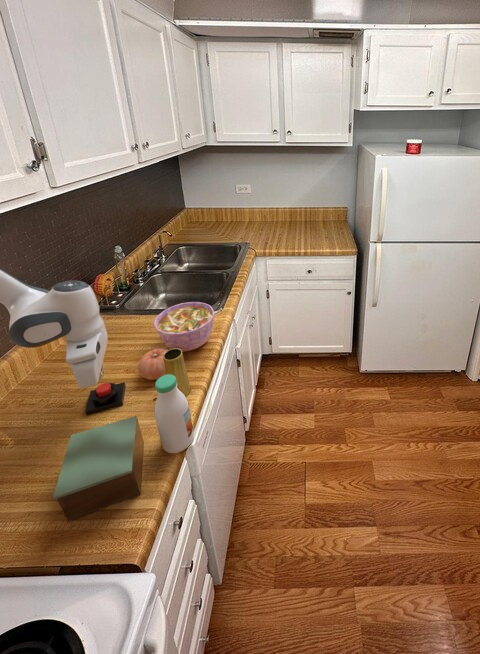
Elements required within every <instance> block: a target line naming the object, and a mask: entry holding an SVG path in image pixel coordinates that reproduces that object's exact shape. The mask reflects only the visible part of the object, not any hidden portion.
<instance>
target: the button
mask: <svg viewBox="0 0 480 654" xmlns="http://www.w3.org/2000/svg"><path fill="white" fill-rule="evenodd" d="M109 383H110V382H104V383H101V384H99V385H98V386H97V387H96V388H97V389H96V388H95V389H96V392H97V395H98V396H99V397H103V396H106V395H108V394H109V393H110V392H111V391H112V389H111V385H110V384H109Z"/></svg>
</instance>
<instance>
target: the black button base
mask: <svg viewBox="0 0 480 654" xmlns="http://www.w3.org/2000/svg"><path fill="white" fill-rule="evenodd" d="M108 383H109V384H110V385H111V389H112V391H111V392H110V393H109V394H108V395H106V396H103V397H99V396H98V395H97V392H96V389H97V387H96V388H95V389H92V390H90V392H89V396H88V398H87V402H86V407H85V410H84V413H85V415H86V416H90V415H94V414H98V413H101V412H104V411H108V410H111V409H115V408H119V407H123V406H124V401H125V393H126V386H127V385H126V382H125V381H123V382H119V383H115V382H108Z"/></svg>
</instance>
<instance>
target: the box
mask: <svg viewBox="0 0 480 654" xmlns="http://www.w3.org/2000/svg"><path fill="white" fill-rule="evenodd" d="M144 449H145V440H144V437H143V434H142V430H141V427H140V423H139V419H138V418H137V423H136V434H135V445H134V456H133V466H132V473H129V474H126V475H123V476H120V477H118V478H115V479H112V480H109V481H106V482H103V483H100V484H98V485H95V486H92V487H89V488H86V489H83V490H81V491H78V492H75V493H72V494H69V495H66V496H63V497H61V498H58V499H56V500H57V502H58V504H59V506H60V509H61V510H62V512H63V515H64V517H65V519H66V521H67V522H68V523H69V522H72V521H74V520H78V519H80V518H82V517H85V516H88V515H90V514H94V513H96V512H99V511H101V510H103V509H107V508H108V507H112V506H114V505H117V504H119V503H123V502H125V501H128V500H130V499H133V498H136V497H139V496H140V495H142V480H143V465H144Z"/></svg>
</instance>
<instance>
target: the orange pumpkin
mask: <svg viewBox="0 0 480 654" xmlns="http://www.w3.org/2000/svg"><path fill="white" fill-rule="evenodd" d="M168 350H169V349H167V348H165V347H164V348H163V347H159V348H154V349H151V350H149V351H147V352H146V353H145V354H144V355H143V356H142V357H141V358H140V360H139V362H138V364H137V368H138V369H137V370H138V372H139V374H140V376H142V378H144V379H147V380H151V381H153V380H158V379H159V378H160V377H162V376H164V375H166V369H165V365H164V360H163V355H164V353H165V352H166V351H168Z"/></svg>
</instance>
